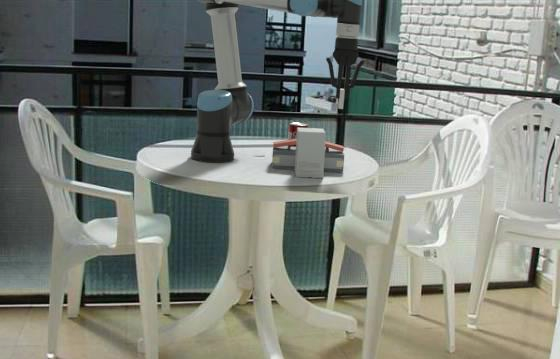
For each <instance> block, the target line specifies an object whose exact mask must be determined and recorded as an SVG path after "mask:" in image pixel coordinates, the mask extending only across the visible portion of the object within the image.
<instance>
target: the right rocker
mask: <svg viewBox="0 0 560 359" xmlns="http://www.w3.org/2000/svg"><path fill="white" fill-rule="evenodd" d="M326 147H327V148H329V149H335V150H338V151H342V152H343V153H344V150H345V147H344V145H340V144H336V143H334V142H330V141H326V142H325V148H326Z"/></svg>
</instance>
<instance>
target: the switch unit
mask: <svg viewBox="0 0 560 359" xmlns="http://www.w3.org/2000/svg"><path fill="white" fill-rule="evenodd" d="M271 157H272V161H271V169H272V170H273V169H275V170H291V171H292V170H293V171H295V157H296V147H291V146H290V145H289V146H283V147H276V148H274V146H273V145H272V156H271ZM344 163H345V154H344V151H343V152H342V151H338V150H335V149H331V148H327V147H325V157H324V172H328V173H342V172H343V173H344V166H345V164H344Z"/></svg>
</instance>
